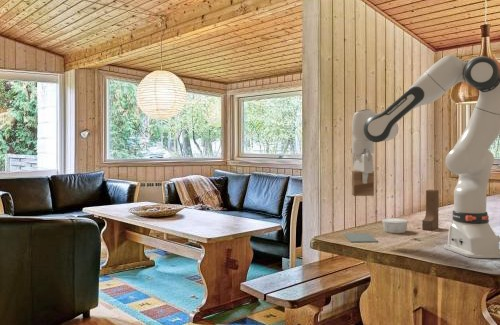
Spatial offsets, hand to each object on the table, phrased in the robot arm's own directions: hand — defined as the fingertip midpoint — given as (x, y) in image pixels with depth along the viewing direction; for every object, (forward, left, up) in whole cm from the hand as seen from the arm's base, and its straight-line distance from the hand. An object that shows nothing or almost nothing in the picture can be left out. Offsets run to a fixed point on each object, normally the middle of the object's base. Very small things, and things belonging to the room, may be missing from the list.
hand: (362, 182), depth 186 cm
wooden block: (+24, -37, -24) cm, 50 cm away
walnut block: (0, 0, -5) cm, 5 cm away
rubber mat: (+5, 0, -24) cm, 25 cm away
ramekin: (+19, -19, -24) cm, 36 cm away
